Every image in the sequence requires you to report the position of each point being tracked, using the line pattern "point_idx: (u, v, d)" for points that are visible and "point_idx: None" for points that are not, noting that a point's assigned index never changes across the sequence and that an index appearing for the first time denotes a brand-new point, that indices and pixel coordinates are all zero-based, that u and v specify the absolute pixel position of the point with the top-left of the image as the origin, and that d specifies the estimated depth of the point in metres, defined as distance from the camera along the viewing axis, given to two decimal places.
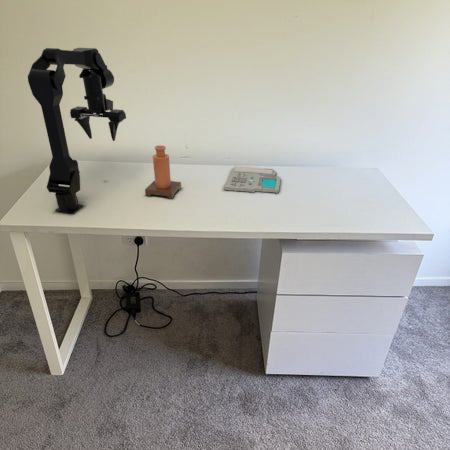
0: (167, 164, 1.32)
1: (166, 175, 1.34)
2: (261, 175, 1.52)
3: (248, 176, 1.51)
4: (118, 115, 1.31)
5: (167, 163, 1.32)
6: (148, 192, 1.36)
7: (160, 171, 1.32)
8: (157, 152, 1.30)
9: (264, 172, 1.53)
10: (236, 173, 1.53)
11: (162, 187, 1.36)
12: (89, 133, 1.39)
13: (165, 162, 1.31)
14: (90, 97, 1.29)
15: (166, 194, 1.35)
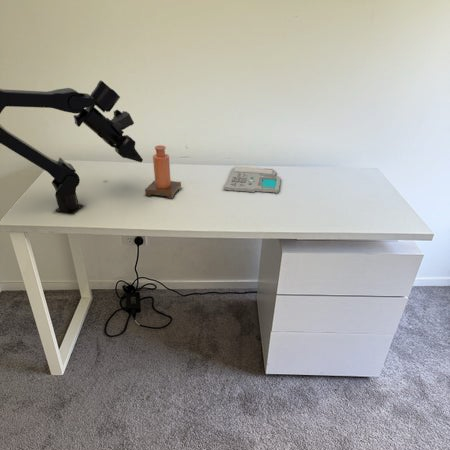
0: (167, 164, 1.32)
1: (166, 175, 1.34)
2: (261, 175, 1.52)
3: (248, 176, 1.51)
4: (119, 152, 1.17)
5: (167, 163, 1.32)
6: (148, 192, 1.36)
7: (160, 171, 1.32)
8: (157, 152, 1.30)
9: (264, 172, 1.53)
10: (236, 173, 1.53)
11: (162, 187, 1.36)
12: None
13: (165, 162, 1.31)
14: (97, 134, 1.19)
15: (166, 194, 1.35)
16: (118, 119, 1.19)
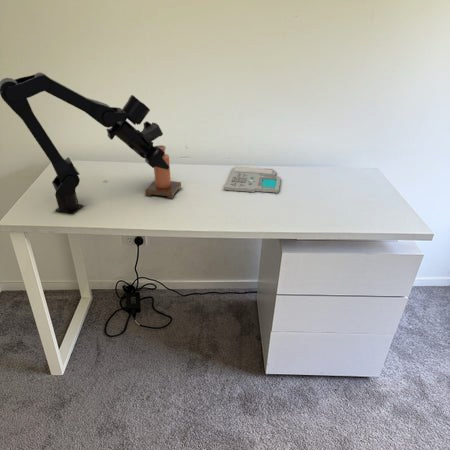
0: None
1: (166, 175, 1.34)
2: (261, 175, 1.52)
3: (248, 176, 1.51)
4: (150, 163, 1.22)
5: (167, 163, 1.32)
6: (148, 192, 1.36)
7: (160, 170, 1.32)
8: None
9: (264, 172, 1.53)
10: (236, 173, 1.53)
11: (162, 187, 1.36)
12: None
13: None
14: None
15: (166, 194, 1.35)
16: (148, 131, 1.24)
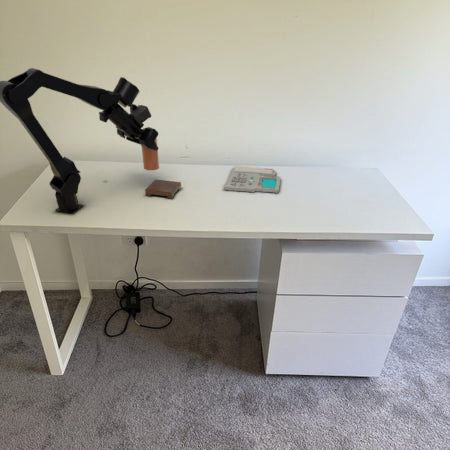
0: None
1: (155, 156, 1.37)
2: (261, 175, 1.52)
3: (248, 176, 1.51)
4: (146, 143, 1.25)
5: None
6: (148, 192, 1.36)
7: (150, 152, 1.36)
8: None
9: (264, 172, 1.53)
10: (236, 173, 1.53)
11: (152, 169, 1.39)
12: None
13: None
14: (119, 129, 1.27)
15: (166, 194, 1.35)
16: (138, 113, 1.27)
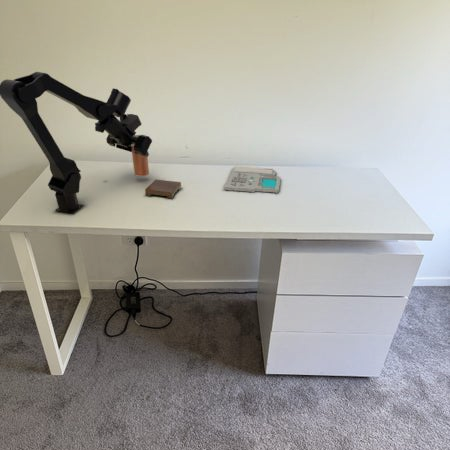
0: None
1: (146, 162, 1.43)
2: (261, 175, 1.52)
3: (248, 176, 1.51)
4: (142, 150, 1.31)
5: None
6: (148, 192, 1.36)
7: (142, 158, 1.41)
8: None
9: (264, 172, 1.53)
10: (236, 173, 1.53)
11: (144, 174, 1.45)
12: None
13: None
14: (113, 138, 1.31)
15: (166, 194, 1.35)
16: (129, 121, 1.32)
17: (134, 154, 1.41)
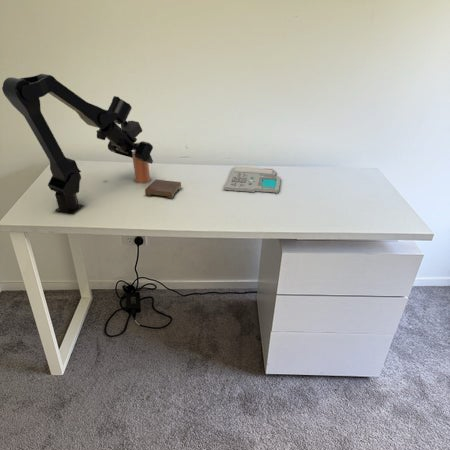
0: None
1: (147, 169, 1.45)
2: (261, 175, 1.52)
3: (248, 176, 1.51)
4: (143, 157, 1.33)
5: None
6: (148, 192, 1.36)
7: (143, 166, 1.43)
8: None
9: (264, 172, 1.53)
10: (236, 173, 1.53)
11: (145, 181, 1.47)
12: (131, 155, 1.46)
13: None
14: (114, 144, 1.33)
15: (166, 194, 1.35)
16: (130, 128, 1.34)
17: (135, 161, 1.42)
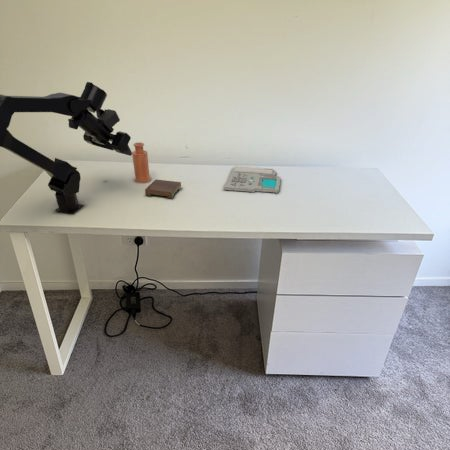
0: (147, 159, 1.44)
1: (147, 169, 1.45)
2: (261, 175, 1.52)
3: (248, 176, 1.51)
4: (119, 148, 1.24)
5: (147, 158, 1.43)
6: (148, 192, 1.36)
7: (143, 166, 1.43)
8: (137, 149, 1.41)
9: (264, 172, 1.53)
10: (236, 173, 1.53)
11: (145, 181, 1.47)
12: (109, 147, 1.36)
13: (146, 157, 1.43)
14: (89, 135, 1.23)
15: (166, 194, 1.35)
16: (106, 117, 1.24)
17: (135, 161, 1.42)
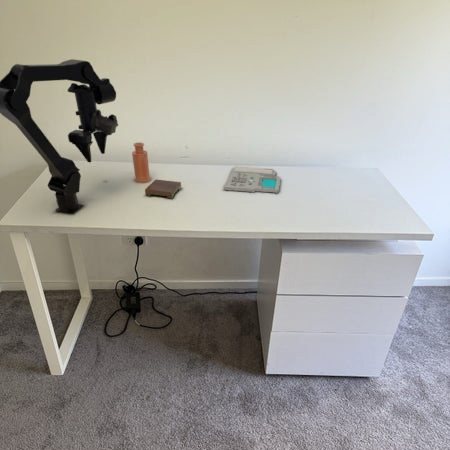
0: (147, 159, 1.44)
1: (147, 169, 1.45)
2: (261, 175, 1.52)
3: (248, 176, 1.51)
4: (68, 135, 1.17)
5: (147, 158, 1.43)
6: (148, 192, 1.36)
7: (143, 166, 1.43)
8: (137, 149, 1.41)
9: (264, 172, 1.53)
10: (236, 173, 1.53)
11: (145, 181, 1.47)
12: (100, 148, 1.32)
13: (146, 157, 1.43)
14: None
15: (166, 194, 1.35)
16: (101, 120, 1.20)
17: (135, 161, 1.42)
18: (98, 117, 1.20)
